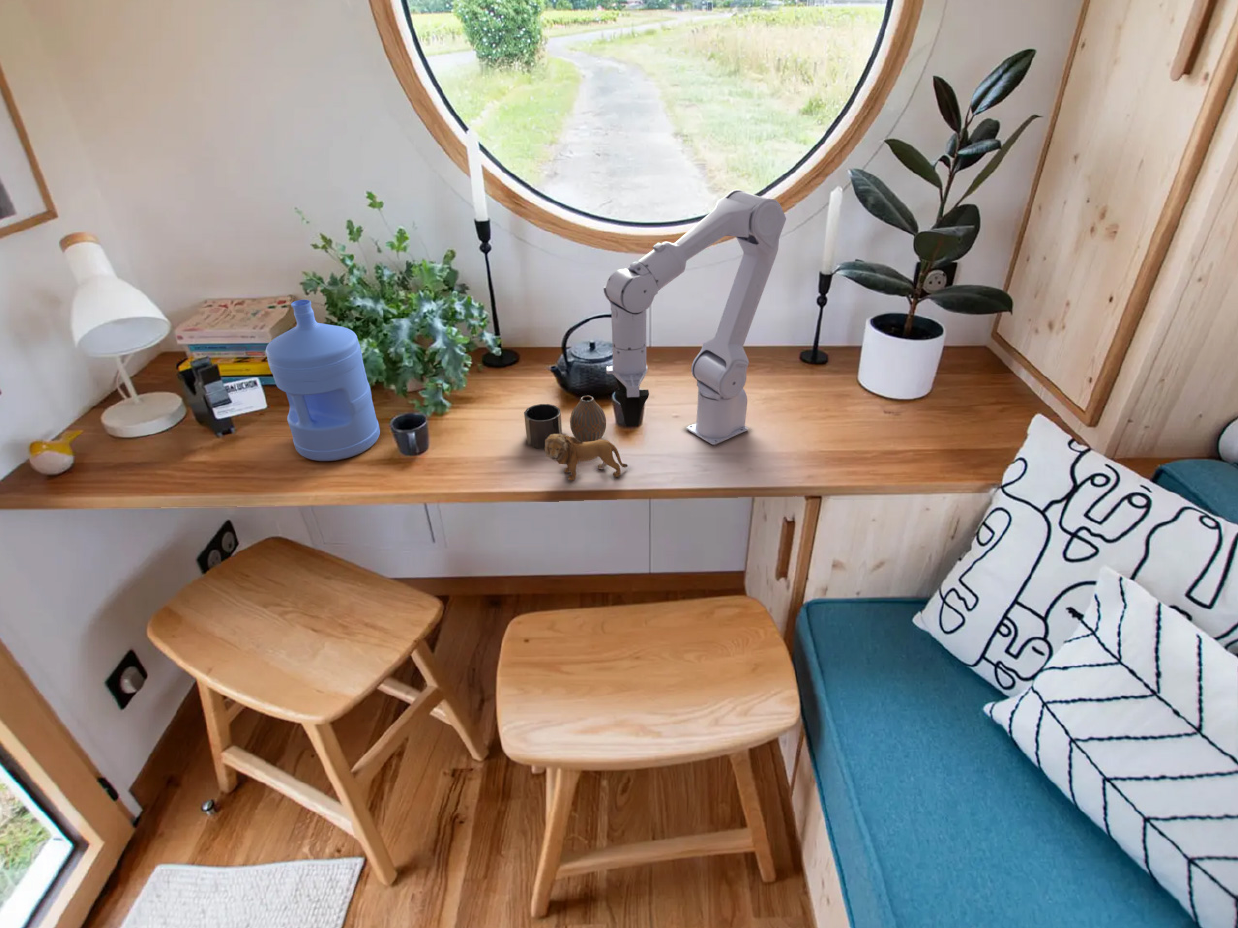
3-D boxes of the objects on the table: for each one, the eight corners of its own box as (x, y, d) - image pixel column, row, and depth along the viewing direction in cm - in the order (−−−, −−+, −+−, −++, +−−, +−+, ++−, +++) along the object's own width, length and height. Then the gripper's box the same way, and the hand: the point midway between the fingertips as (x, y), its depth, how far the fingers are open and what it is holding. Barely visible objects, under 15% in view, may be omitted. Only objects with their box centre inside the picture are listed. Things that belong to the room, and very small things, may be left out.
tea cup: (549, 427, 137) (547, 400, 133) (569, 441, 132) (567, 414, 129) (520, 437, 133) (517, 410, 130) (538, 452, 129) (536, 425, 125)
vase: (594, 451, 129) (592, 410, 124) (564, 441, 132) (561, 401, 127) (613, 435, 134) (612, 395, 129) (583, 426, 137) (582, 387, 132)
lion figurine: (549, 488, 119) (546, 444, 114) (544, 471, 123) (541, 428, 118) (631, 475, 122) (631, 432, 117) (623, 460, 126) (623, 417, 121)
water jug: (333, 416, 141) (296, 284, 126) (397, 428, 137) (367, 293, 121) (278, 454, 129) (229, 313, 114) (346, 469, 125) (305, 324, 109)
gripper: (603, 327, 120) (605, 396, 127) (607, 363, 108) (609, 436, 115) (643, 326, 120) (643, 394, 128) (652, 360, 108) (651, 434, 116)
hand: (630, 414), depth 121 cm, fingers open, 7 cm apart
